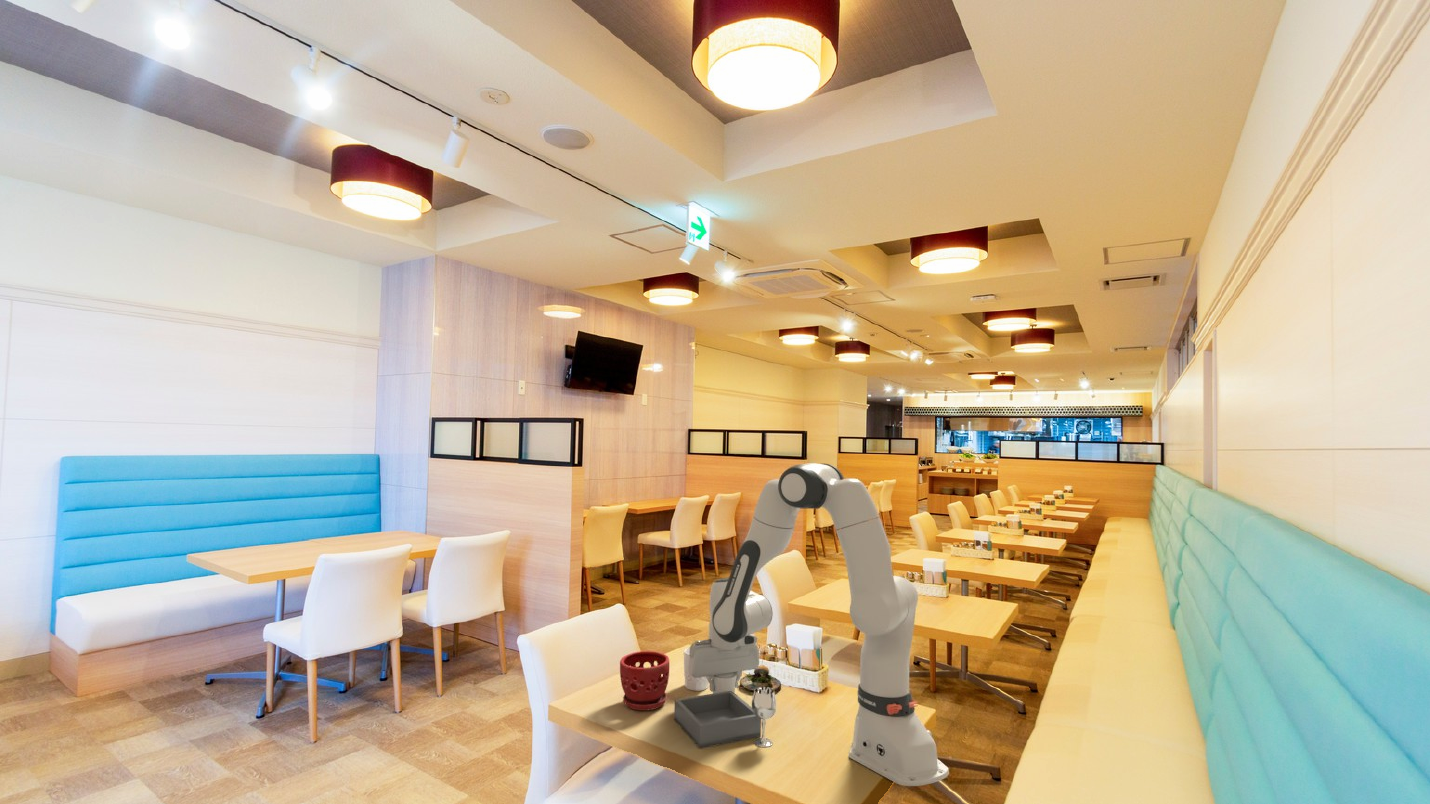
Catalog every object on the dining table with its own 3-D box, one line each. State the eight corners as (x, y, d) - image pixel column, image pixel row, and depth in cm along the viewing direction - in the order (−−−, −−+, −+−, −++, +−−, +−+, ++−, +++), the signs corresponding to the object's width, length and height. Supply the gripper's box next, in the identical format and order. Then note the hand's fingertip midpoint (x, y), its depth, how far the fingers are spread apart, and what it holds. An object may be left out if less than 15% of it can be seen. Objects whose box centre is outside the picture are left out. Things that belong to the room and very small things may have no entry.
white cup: (710, 692, 182) (710, 656, 182) (681, 691, 182) (682, 655, 182) (710, 681, 190) (711, 646, 190) (683, 680, 190) (684, 646, 190)
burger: (731, 689, 185) (732, 662, 185) (753, 677, 195) (753, 651, 195) (768, 699, 178) (768, 672, 179) (788, 686, 188) (789, 660, 188)
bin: (760, 736, 156) (761, 715, 156) (699, 748, 149) (700, 726, 149) (730, 710, 170) (731, 690, 170) (674, 719, 163) (674, 699, 164)
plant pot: (632, 691, 181) (634, 647, 182) (676, 699, 176) (677, 654, 177) (609, 709, 169) (611, 662, 169) (655, 718, 164) (656, 670, 165)
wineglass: (768, 750, 149) (769, 697, 149) (746, 744, 152) (747, 691, 152) (779, 741, 154) (780, 689, 154) (758, 734, 157) (759, 684, 157)
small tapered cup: (733, 705, 173) (734, 678, 173) (708, 703, 174) (709, 676, 175) (737, 695, 180) (738, 670, 180) (713, 693, 181) (714, 667, 181)
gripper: (694, 645, 171) (693, 698, 170) (762, 636, 179) (761, 687, 178) (685, 638, 176) (684, 690, 175) (751, 630, 185) (750, 679, 184)
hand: (723, 688), depth 177 cm, fingers closed on small tapered cup, 5 cm apart
